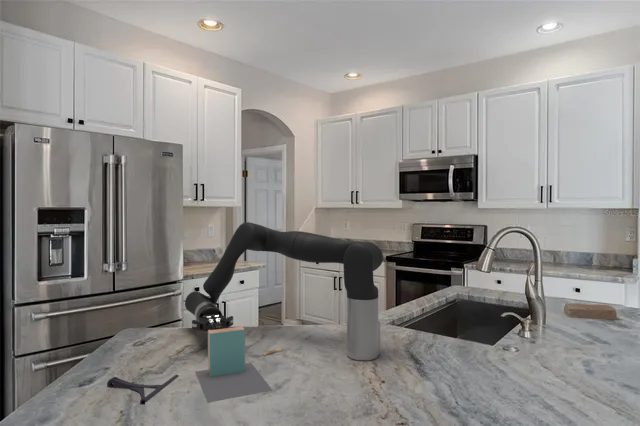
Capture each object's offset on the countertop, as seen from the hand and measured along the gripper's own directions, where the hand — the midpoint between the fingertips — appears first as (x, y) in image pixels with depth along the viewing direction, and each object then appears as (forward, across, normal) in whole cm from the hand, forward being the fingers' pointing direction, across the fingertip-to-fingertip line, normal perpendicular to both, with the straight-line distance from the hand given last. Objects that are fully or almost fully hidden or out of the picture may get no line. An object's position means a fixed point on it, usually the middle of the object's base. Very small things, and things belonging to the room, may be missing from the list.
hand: (218, 330), depth 120 cm
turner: (+3, +12, +9) cm, 15 cm away
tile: (+10, 0, +8) cm, 13 cm away
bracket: (+10, -21, +10) cm, 25 cm away
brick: (+12, +143, +8) cm, 144 cm away
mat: (+16, 0, +8) cm, 18 cm away
